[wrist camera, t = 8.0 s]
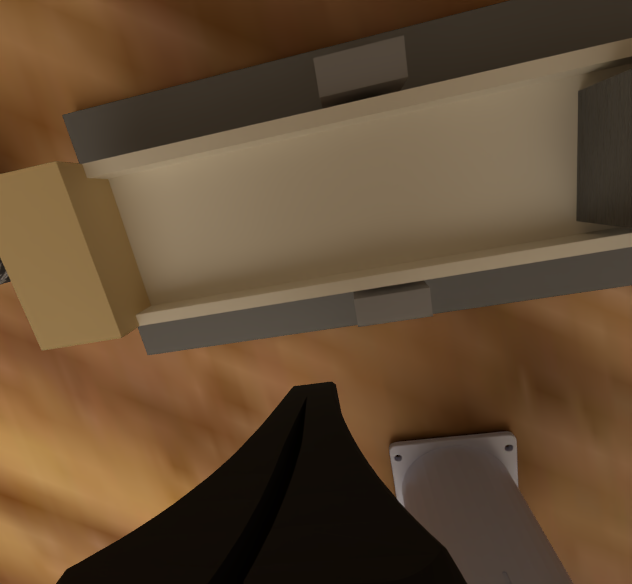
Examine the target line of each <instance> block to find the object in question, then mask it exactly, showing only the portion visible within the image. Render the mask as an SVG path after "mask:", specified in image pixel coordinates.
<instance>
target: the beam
mask: <svg viewBox="0 0 632 584" xmlns="http://www.w3.org/2000/svg"><path fill="white" fill-rule="evenodd" d="M629 69H632V38H629V39H624V40H620V41H616V42H611V43H607V44H603V45H598V46H594V47H589V48H585V49H581V50H576V51H572V52H568V53H563V54H559V55H555V56H550V57H546V58H542V59H537V60H533V61H528V62H524V63H520V64H515V65H511V66H507V67H502V68H498V69H494V70H489V71H485V72H481V73H476V74H472V75H467V76H463V77H459V78H454V79H450V80H446V81H441V82H437V83H433V84H428V85H424V86H420V87H415V88H411V89H406V90H402V91H398V92H393V93H389V94H385V95H380V96H376V97H372V98H367V99H363V100H359V101H354V102H350V103H345V104H341V105H337V106H332V107H328V108H324V109H319V110H315V111H311V112H306V113H302V114H298V115H293V116H289V117H284V118H280V119H276V120H271V121H267V122H263V123H258V124H254V125H250V126H245V127H241V128H237V129H232V130H228V131H223V132H219V133H215V134H210V135H206V136H202V137H197V138H193V139H189V140H184V141H180V142H176V143H171V144H167V145H162V146H158V147H154V148H149V149H145V150H141V151H136V152H132V153H128V154H123V155H119V156H115V157H110V158H106V159H101V160H97V161H93V162H88V163H84V164H78V163H68V162H58V161H55V162H50V163H46V164H42V165H38V166H33V167H29V168H25V169H20V170H16V171H12V172H8V173H3V174H0V258H1V260H2V263H3V265H4V267H5V269H6V271H7V274H8V276H9V278H10V280H11V283H12V285H13V287H14V289H15V292H16V294H17V296H18V298H19V301H20V303H21V305H22V307H23V309H24V312H25V314H26V316H27V318H28V321H29V323H30V325H31V327H32V330H33V332H34V334H35V336H36V339H37V341H38V343H39V345H40V348H41V350H48V349H54V348H61V347H67V346H73V345H80V344H86V343H92V342H99V341H105V340H111V339H118V338H122V337H124V336H125V335H127V334H128V333H130V332H131V331H133V330H134V329H136V328H137V327H139V326H143V325H149V324H155V323H162V322H168V321H174V320H180V319H186V318H193V317H199V316H205V315H211V314H217V313H224V312H230V311H236V310H242V309H249V308H255V307H261V306H267V305H273V304H280V303H286V302H292V301H298V300H304V299H311V298H317V297H323V296H329V295H336V294H342V293H348V292H354V291H360V290H367V289H373V288H379V287H385V286H391V285H398V284H404V283H410V282H416V281H422V280H429V279H435V278H441V277H447V276H454V275H460V274H466V273H472V272H478V271H485V270H491V269H497V268H503V267H509V266H516V265H522V264H528V263H534V262H541V261H547V260H553V259H559V258H565V257H572V256H578V255H584V254H590V253H596V252H603V251H609V250H615V249H621V248H628V247H632V228H626V227H618V226H610V225H602V224H595V223H587V222H579V221H576V208H577V136H578V91H580V90H582V89H584V88H587V87H589V86H591V85H594V84H596V83H598V82H601V81H603V80H606V79H608V78H610V77H613V76H615V75H617V74H620V73H622V72H625V71H627V70H629Z"/></svg>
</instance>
